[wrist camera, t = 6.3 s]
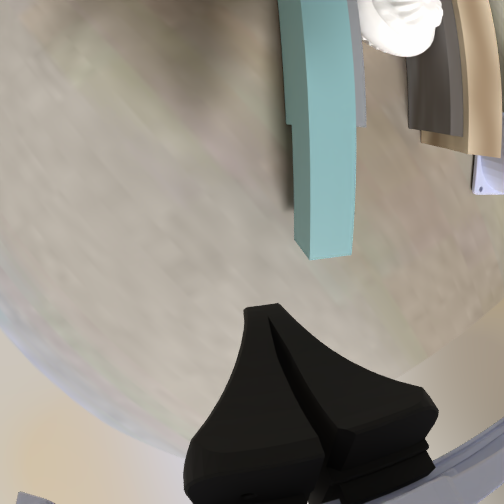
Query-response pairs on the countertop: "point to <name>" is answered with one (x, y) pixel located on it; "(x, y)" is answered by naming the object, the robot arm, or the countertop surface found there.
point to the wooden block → (459, 82)
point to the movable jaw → (323, 118)
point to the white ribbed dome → (399, 25)
